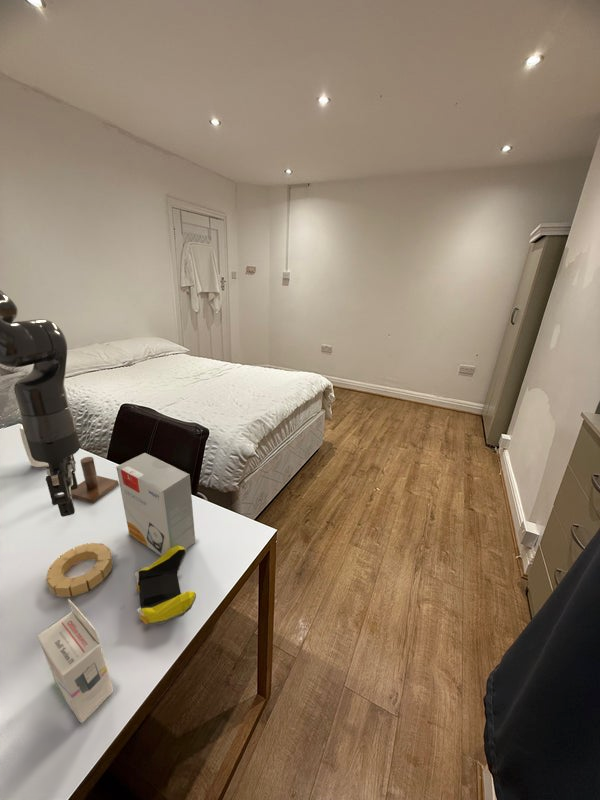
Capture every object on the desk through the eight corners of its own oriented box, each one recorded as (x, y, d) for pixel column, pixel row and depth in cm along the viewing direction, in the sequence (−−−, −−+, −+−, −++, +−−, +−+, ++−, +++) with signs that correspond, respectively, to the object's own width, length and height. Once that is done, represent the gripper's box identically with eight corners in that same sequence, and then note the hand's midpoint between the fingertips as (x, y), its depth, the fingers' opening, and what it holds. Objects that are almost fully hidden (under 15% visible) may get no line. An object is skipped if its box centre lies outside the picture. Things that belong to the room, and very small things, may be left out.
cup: (25, 472, 99) (11, 431, 94) (38, 457, 107) (26, 419, 101) (56, 469, 101) (45, 429, 96) (67, 455, 109) (57, 417, 104)
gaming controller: (185, 558, 73) (136, 574, 68) (183, 540, 71) (133, 555, 66) (199, 618, 61) (141, 642, 56) (197, 597, 59) (136, 622, 54)
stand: (67, 496, 90) (58, 464, 86) (94, 478, 98) (87, 448, 94) (93, 503, 88) (85, 471, 84) (118, 484, 96) (113, 454, 92)
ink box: (53, 684, 50) (28, 621, 45) (87, 656, 54) (68, 594, 48) (80, 726, 46) (56, 662, 40) (115, 692, 50) (98, 628, 44)
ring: (34, 587, 65) (31, 579, 64) (84, 545, 75) (82, 537, 74) (79, 604, 62) (77, 596, 61) (125, 558, 72) (123, 549, 71)
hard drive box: (127, 535, 78) (114, 465, 71) (155, 516, 84) (145, 451, 77) (171, 564, 71) (161, 490, 64) (197, 541, 77) (191, 472, 70)
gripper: (32, 418, 63) (52, 486, 69) (17, 453, 52) (41, 530, 58) (78, 412, 67) (93, 477, 73) (72, 444, 56) (90, 517, 62)
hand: (70, 501), depth 65 cm, fingers open, 8 cm apart
